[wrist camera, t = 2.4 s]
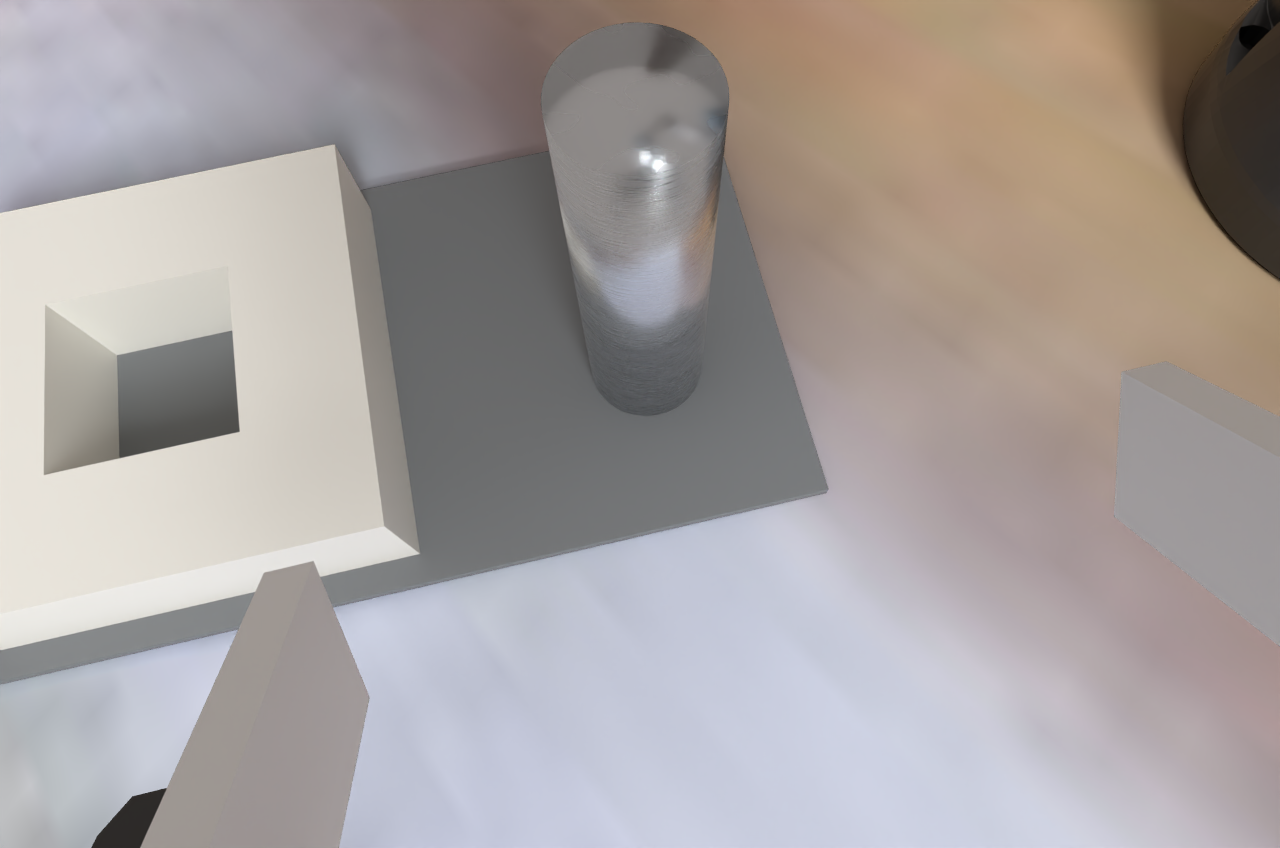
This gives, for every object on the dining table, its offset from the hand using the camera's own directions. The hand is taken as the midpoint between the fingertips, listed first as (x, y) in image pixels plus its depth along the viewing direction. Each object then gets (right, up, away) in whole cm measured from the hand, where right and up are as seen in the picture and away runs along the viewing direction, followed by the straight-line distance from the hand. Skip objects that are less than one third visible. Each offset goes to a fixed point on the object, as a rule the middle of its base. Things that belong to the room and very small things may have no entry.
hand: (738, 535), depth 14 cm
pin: (-1, +4, +18) cm, 18 cm away
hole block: (-17, +2, +18) cm, 25 cm away
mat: (-12, +3, +18) cm, 22 cm away
